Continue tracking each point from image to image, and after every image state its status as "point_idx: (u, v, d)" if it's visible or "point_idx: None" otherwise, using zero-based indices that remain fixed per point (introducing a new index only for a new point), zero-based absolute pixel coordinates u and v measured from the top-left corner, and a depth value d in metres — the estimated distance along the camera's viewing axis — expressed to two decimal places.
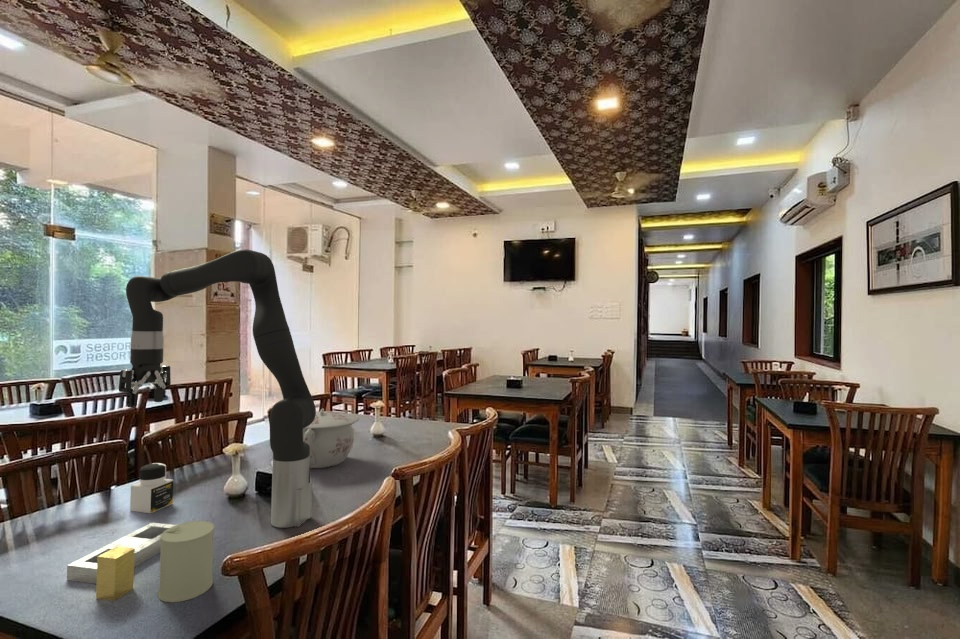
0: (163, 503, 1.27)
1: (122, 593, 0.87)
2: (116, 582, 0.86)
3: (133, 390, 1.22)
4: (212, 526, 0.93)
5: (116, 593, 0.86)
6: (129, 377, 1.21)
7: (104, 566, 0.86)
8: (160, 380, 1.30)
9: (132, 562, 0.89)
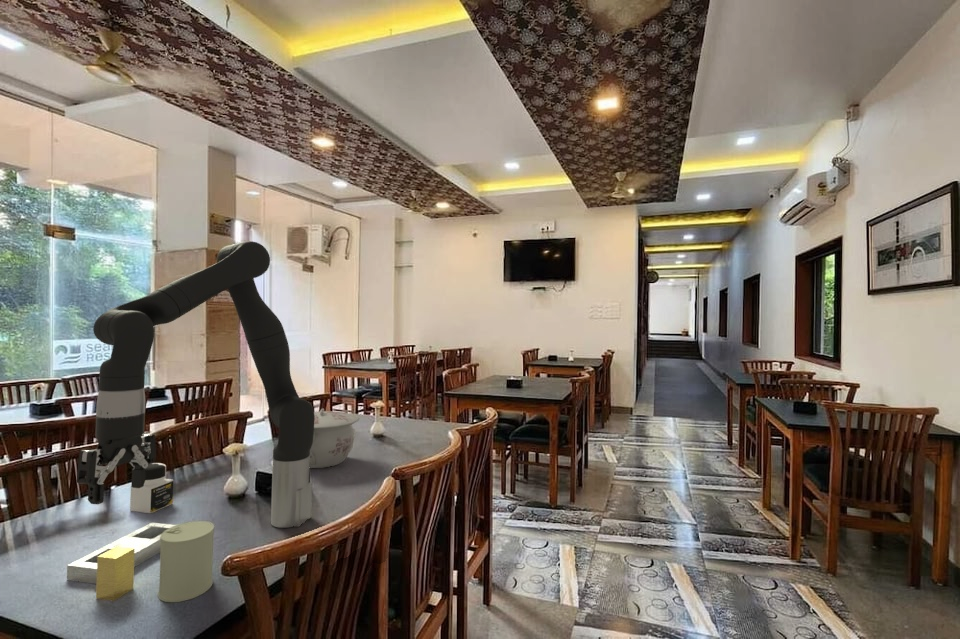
0: (163, 503, 1.27)
1: (122, 593, 0.87)
2: (116, 582, 0.86)
3: (98, 480, 0.83)
4: (212, 526, 0.93)
5: (116, 593, 0.86)
6: (92, 462, 0.82)
7: (104, 566, 0.86)
8: (141, 458, 0.91)
9: (132, 562, 0.89)
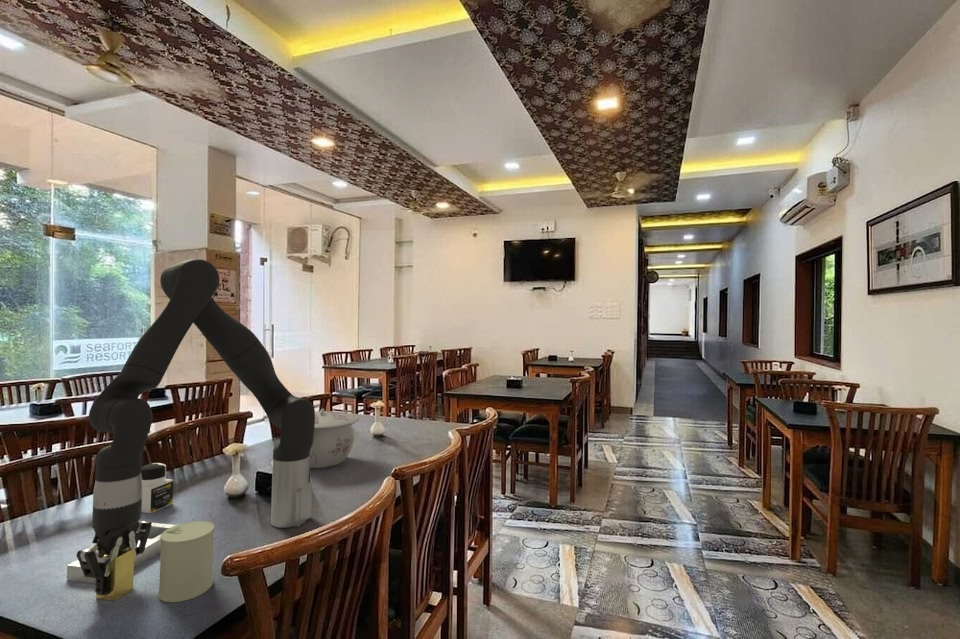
0: (163, 503, 1.27)
1: (122, 593, 0.87)
2: (116, 582, 0.86)
3: (105, 573, 0.85)
4: (212, 526, 0.93)
5: (116, 593, 0.86)
6: (93, 560, 0.82)
7: (103, 566, 0.86)
8: None
9: (132, 562, 0.89)
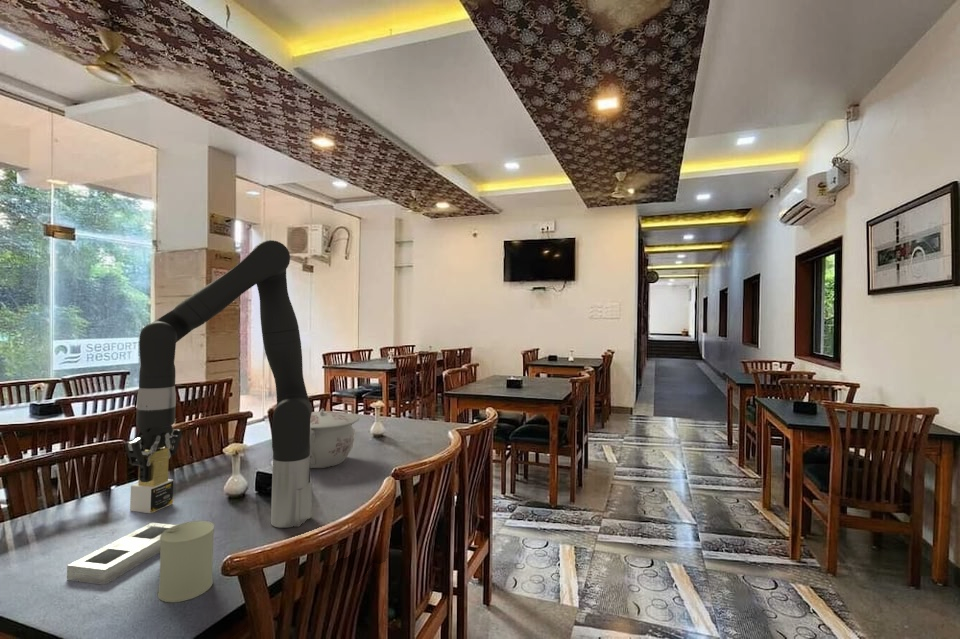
0: (163, 503, 1.27)
1: (159, 482, 1.06)
2: (155, 472, 1.05)
3: (147, 463, 1.03)
4: (212, 526, 0.93)
5: (155, 481, 1.05)
6: (138, 450, 1.01)
7: (145, 459, 1.05)
8: (168, 447, 1.09)
9: (167, 458, 1.08)
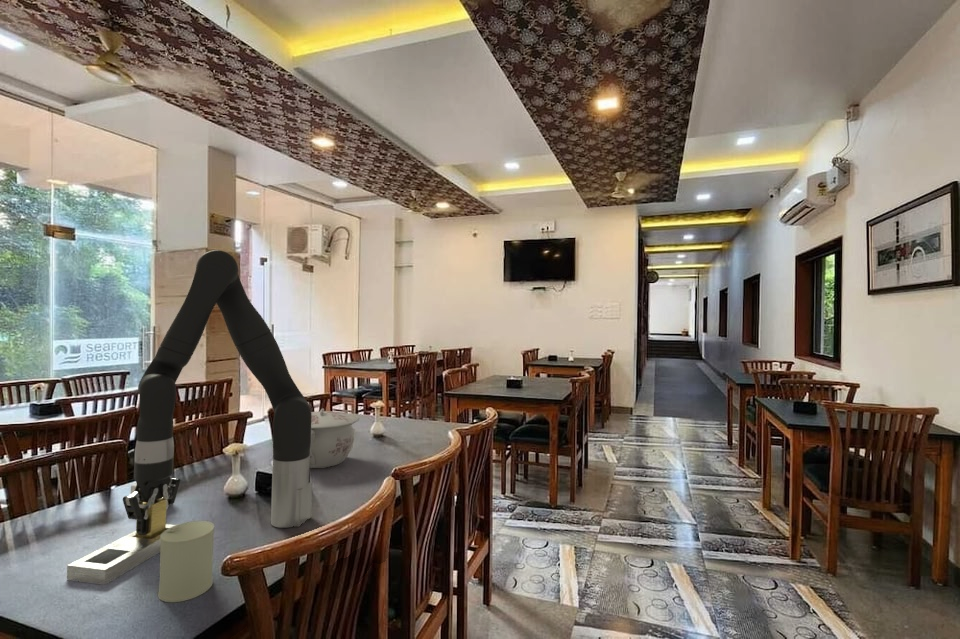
0: None
1: (157, 534, 1.06)
2: (152, 524, 1.05)
3: (144, 516, 1.03)
4: (212, 526, 0.93)
5: (152, 533, 1.05)
6: (135, 505, 1.01)
7: (142, 511, 1.05)
8: (166, 498, 1.08)
9: (164, 509, 1.08)
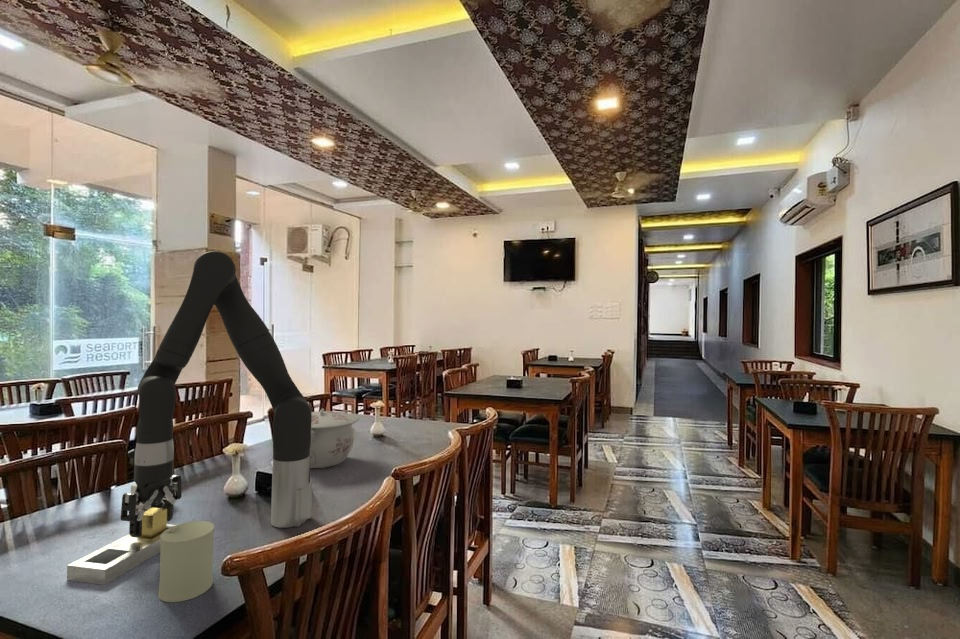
0: None
1: None
2: (153, 535, 1.05)
3: (138, 517, 1.01)
4: (212, 526, 0.93)
5: None
6: (133, 503, 1.00)
7: (143, 522, 1.05)
8: (170, 496, 1.10)
9: (165, 520, 1.08)
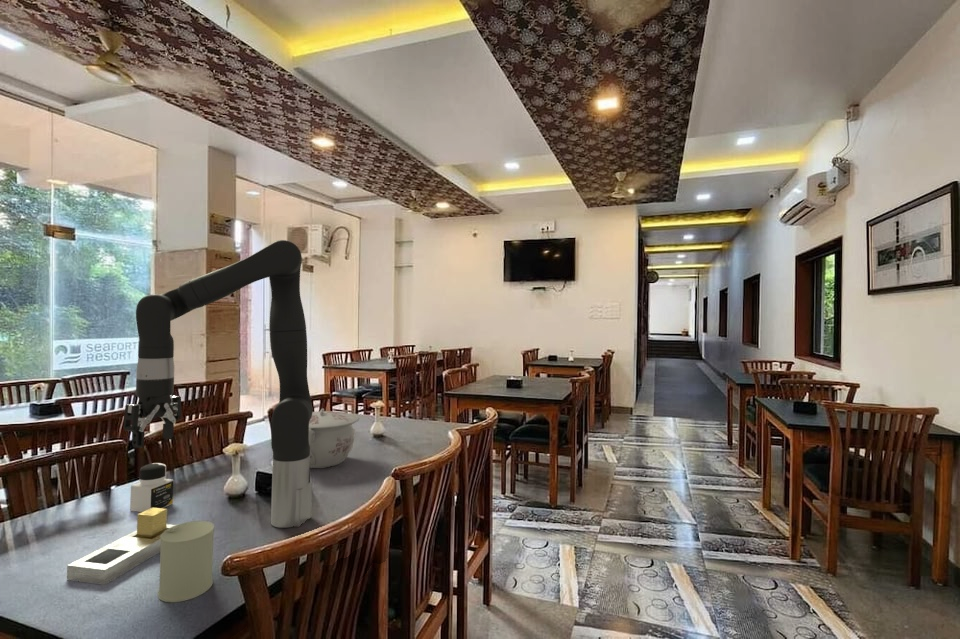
0: (163, 503, 1.27)
1: None
2: (153, 535, 1.05)
3: (140, 428, 1.05)
4: (212, 526, 0.93)
5: None
6: (136, 413, 1.04)
7: (143, 522, 1.05)
8: (170, 414, 1.13)
9: (165, 520, 1.08)
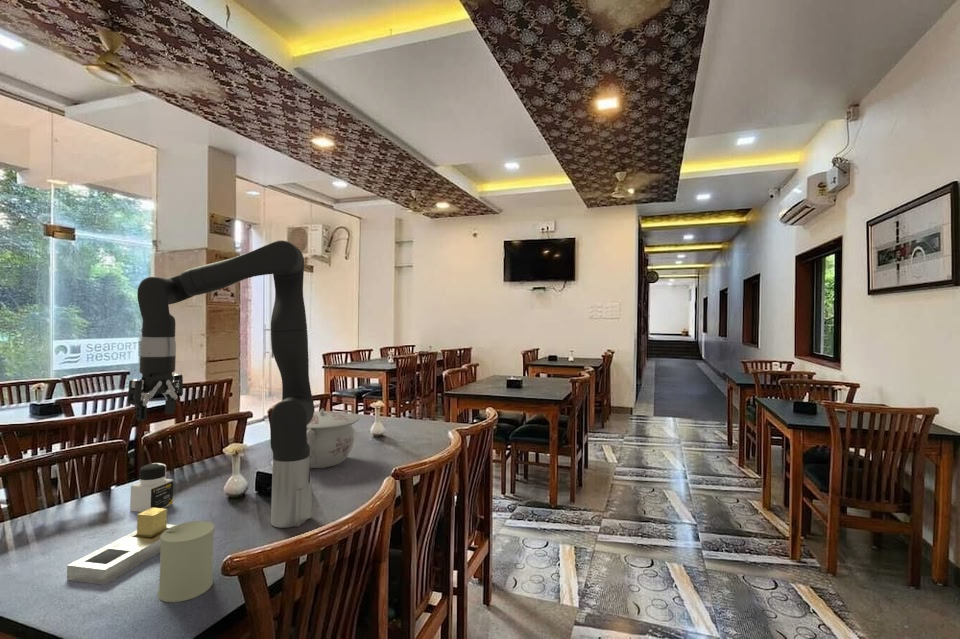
0: (163, 503, 1.27)
1: None
2: (153, 535, 1.05)
3: (143, 402, 1.11)
4: (212, 526, 0.93)
5: None
6: (139, 388, 1.10)
7: (143, 522, 1.05)
8: (172, 391, 1.19)
9: (165, 520, 1.08)
